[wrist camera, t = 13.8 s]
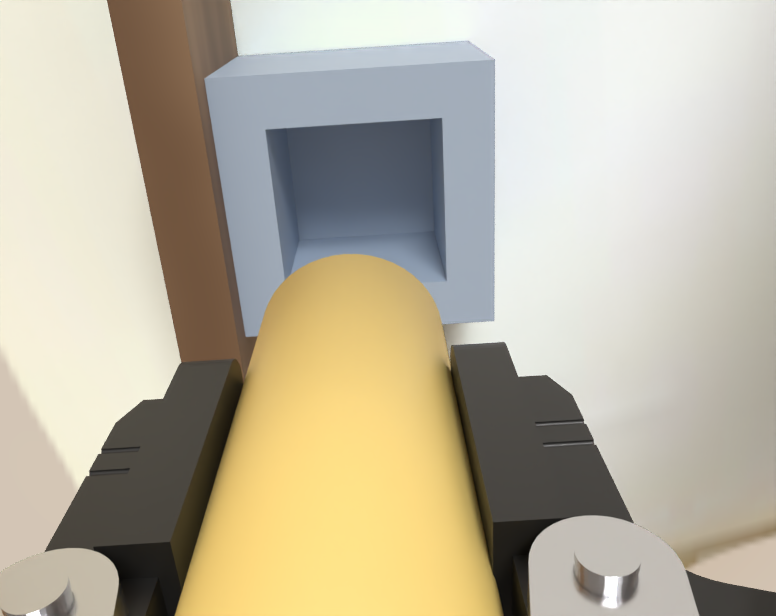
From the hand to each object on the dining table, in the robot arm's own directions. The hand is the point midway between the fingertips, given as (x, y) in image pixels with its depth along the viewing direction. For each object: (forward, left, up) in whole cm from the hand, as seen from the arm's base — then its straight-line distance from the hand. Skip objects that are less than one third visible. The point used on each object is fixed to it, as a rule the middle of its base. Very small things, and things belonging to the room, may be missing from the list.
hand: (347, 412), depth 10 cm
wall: (+4, 0, -15) cm, 15 cm away
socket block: (0, 0, -15) cm, 15 cm away
